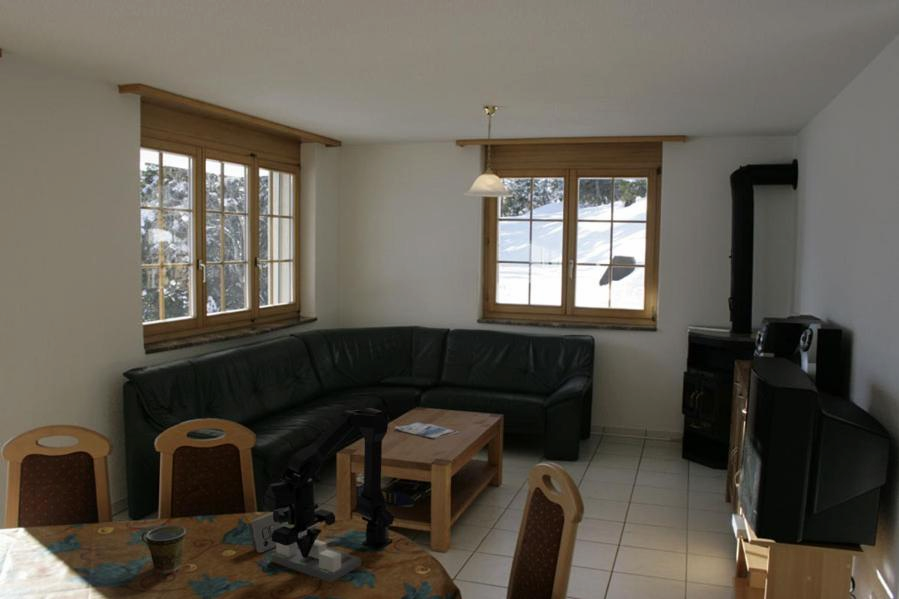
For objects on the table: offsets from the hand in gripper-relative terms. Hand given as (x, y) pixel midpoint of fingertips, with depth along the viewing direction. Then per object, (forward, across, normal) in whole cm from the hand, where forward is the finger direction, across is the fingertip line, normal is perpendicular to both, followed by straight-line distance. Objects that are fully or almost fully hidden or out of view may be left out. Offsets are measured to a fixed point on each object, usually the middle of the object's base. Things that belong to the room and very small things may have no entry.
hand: (305, 557), depth 205 cm
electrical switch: (+4, -4, -20) cm, 20 cm away
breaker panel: (+3, -4, 0) cm, 5 cm away
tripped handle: (+1, -4, 0) cm, 4 cm away
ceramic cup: (+3, +21, -33) cm, 39 cm away
